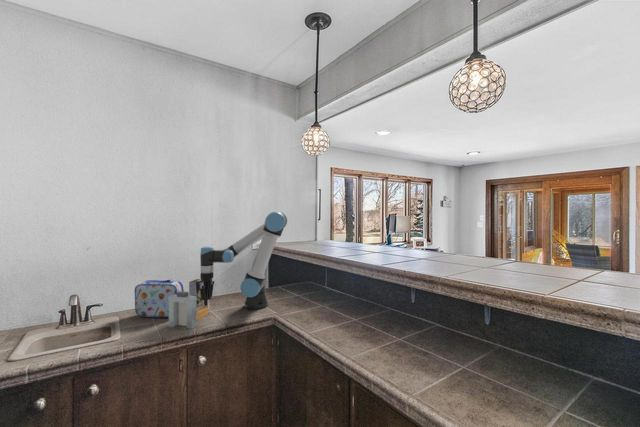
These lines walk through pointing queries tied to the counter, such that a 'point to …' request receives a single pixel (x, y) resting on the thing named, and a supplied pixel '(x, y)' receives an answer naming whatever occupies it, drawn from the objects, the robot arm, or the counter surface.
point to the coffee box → (196, 291)
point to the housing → (174, 309)
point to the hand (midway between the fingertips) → (206, 310)
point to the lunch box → (155, 297)
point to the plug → (183, 313)
